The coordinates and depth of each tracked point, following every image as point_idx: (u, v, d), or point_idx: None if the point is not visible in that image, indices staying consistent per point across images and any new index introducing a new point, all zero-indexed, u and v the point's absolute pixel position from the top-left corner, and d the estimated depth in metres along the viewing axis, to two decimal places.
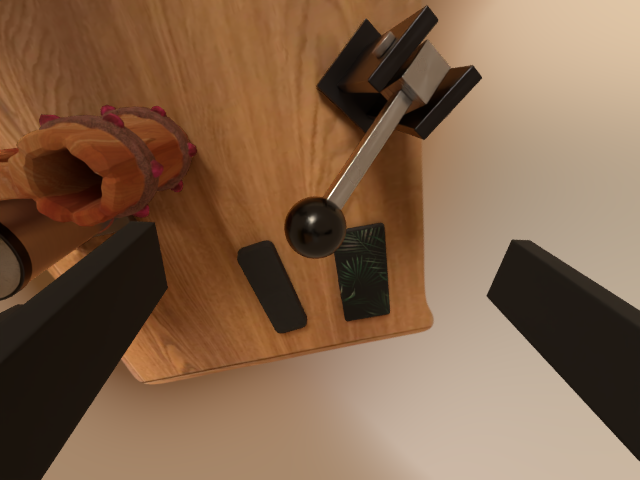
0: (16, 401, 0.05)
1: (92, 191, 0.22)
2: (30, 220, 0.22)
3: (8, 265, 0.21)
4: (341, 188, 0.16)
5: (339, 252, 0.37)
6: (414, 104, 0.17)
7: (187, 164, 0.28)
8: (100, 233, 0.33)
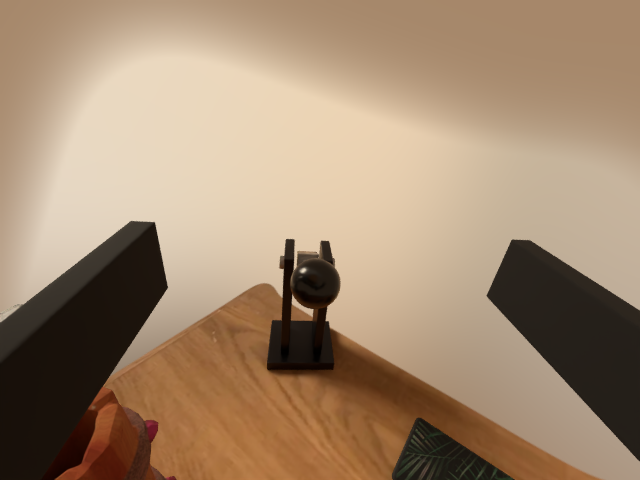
0: (17, 400, 0.05)
1: None
2: None
3: None
4: None
5: None
6: None
7: None
8: None
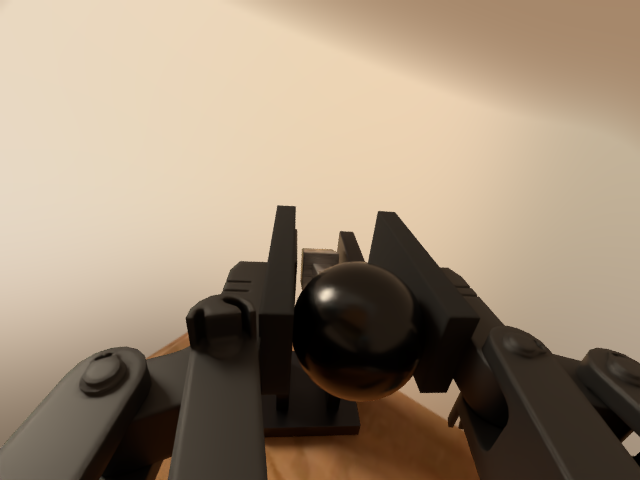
0: None
1: None
2: None
3: None
4: None
5: None
6: (333, 265, 0.17)
7: None
8: None
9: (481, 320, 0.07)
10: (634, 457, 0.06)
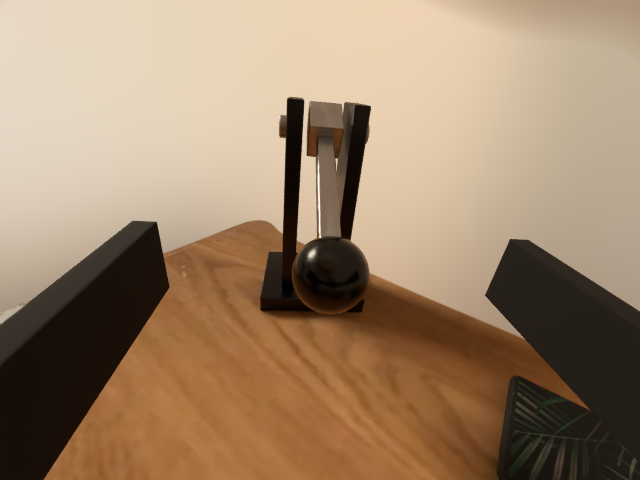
0: (21, 399, 0.05)
1: None
2: None
3: None
4: (326, 222, 0.14)
5: None
6: (337, 138, 0.18)
7: None
8: None
9: None
10: None
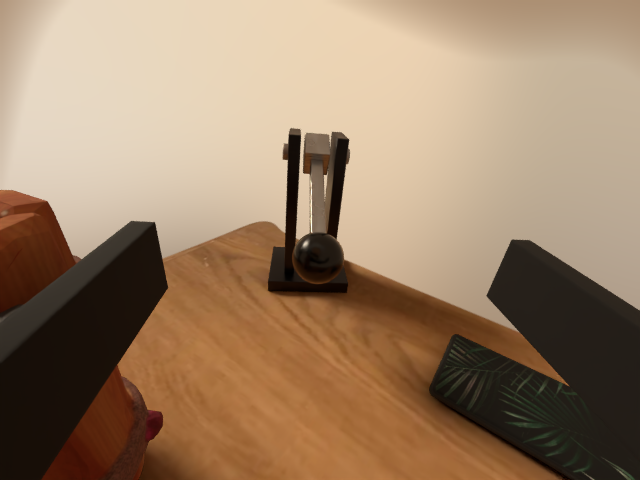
0: (17, 400, 0.05)
1: None
2: None
3: None
4: (316, 223, 0.21)
5: (478, 406, 0.18)
6: (325, 161, 0.25)
7: (136, 446, 0.12)
8: None
9: None
10: None
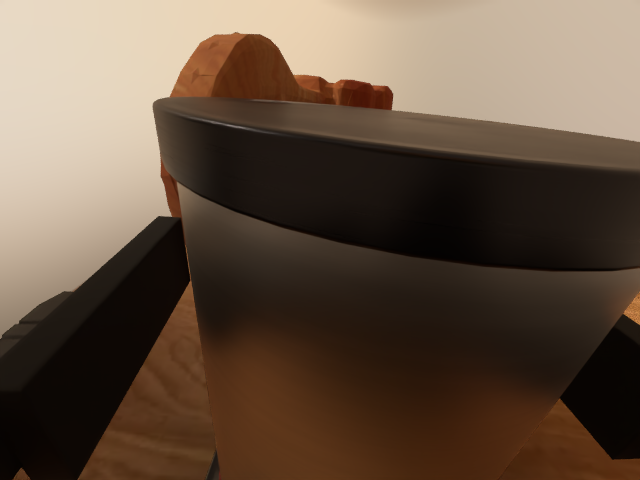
0: (79, 374, 0.05)
1: None
2: None
3: (430, 115, 0.08)
4: None
5: None
6: None
7: None
8: None
9: None
10: None
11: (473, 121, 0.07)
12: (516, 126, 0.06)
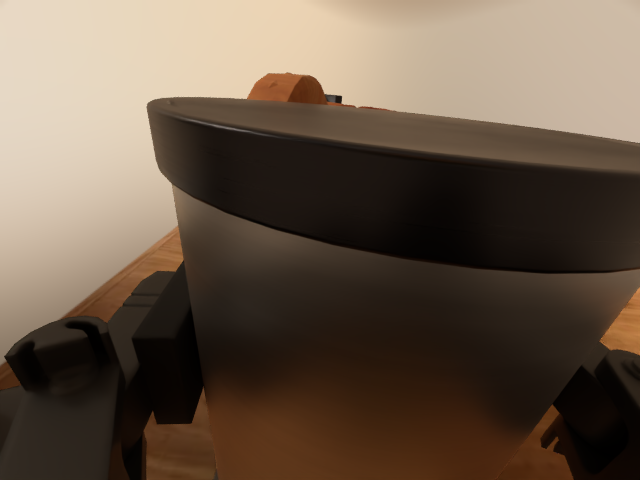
0: (194, 334, 0.06)
1: None
2: None
3: (428, 115, 0.08)
4: None
5: None
6: None
7: None
8: None
9: None
10: None
11: (470, 122, 0.07)
12: (513, 127, 0.06)
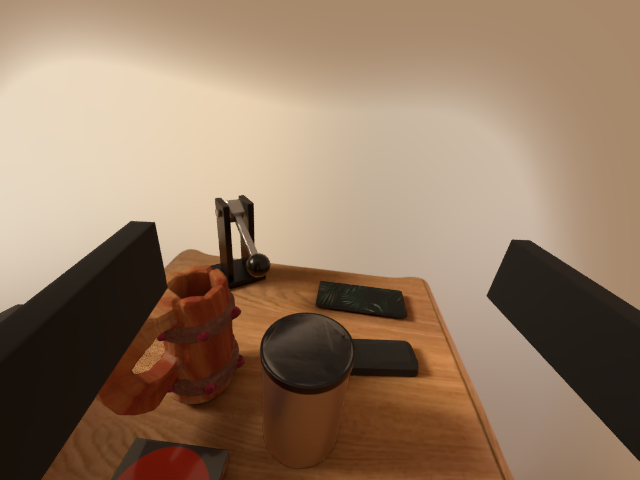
0: (17, 400, 0.05)
1: None
2: None
3: (325, 323, 0.27)
4: (251, 249, 0.43)
5: (333, 303, 0.47)
6: (242, 214, 0.47)
7: (235, 340, 0.35)
8: None
9: None
10: None
11: (331, 334, 0.26)
12: (339, 340, 0.26)
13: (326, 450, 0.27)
